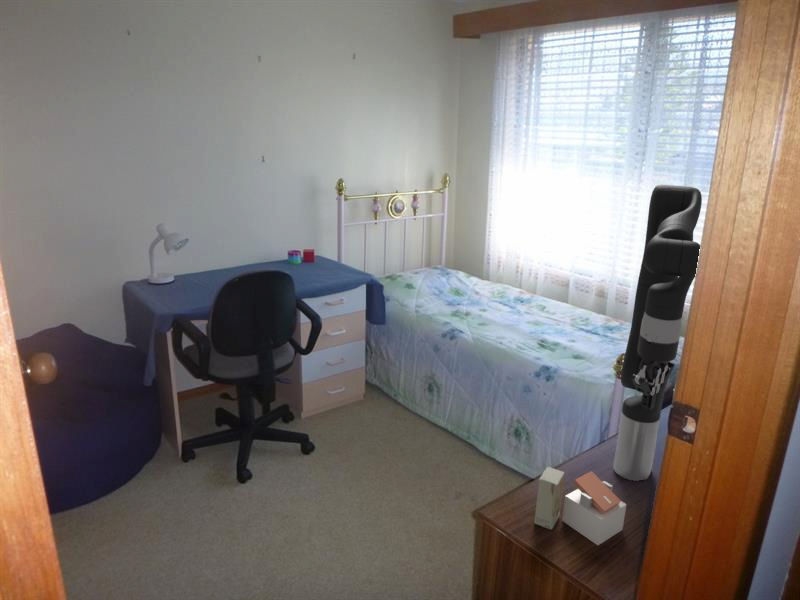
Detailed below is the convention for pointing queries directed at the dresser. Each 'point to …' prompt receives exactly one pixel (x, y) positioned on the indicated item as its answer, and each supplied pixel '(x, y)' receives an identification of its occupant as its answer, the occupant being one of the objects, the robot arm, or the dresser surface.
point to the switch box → (592, 517)
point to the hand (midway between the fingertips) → (647, 407)
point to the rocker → (597, 492)
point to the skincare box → (549, 497)
